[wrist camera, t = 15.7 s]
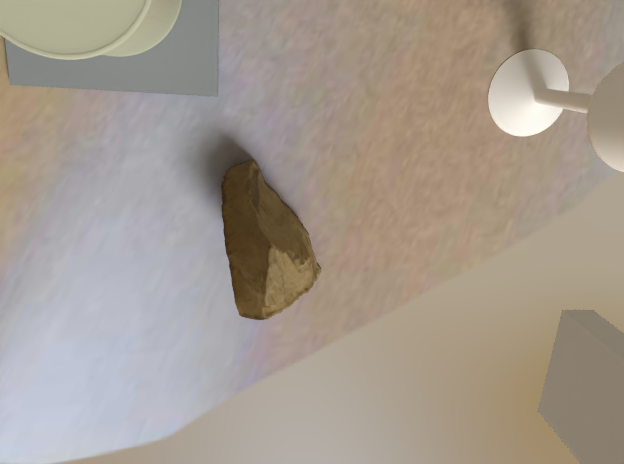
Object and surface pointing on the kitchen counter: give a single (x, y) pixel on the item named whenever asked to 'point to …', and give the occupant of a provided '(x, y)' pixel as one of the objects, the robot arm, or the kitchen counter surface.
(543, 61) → the champagne flute
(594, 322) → the robot arm
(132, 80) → the slate tile
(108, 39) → the can
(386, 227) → the kitchen counter surface
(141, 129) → the kitchen counter surface
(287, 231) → the rock
